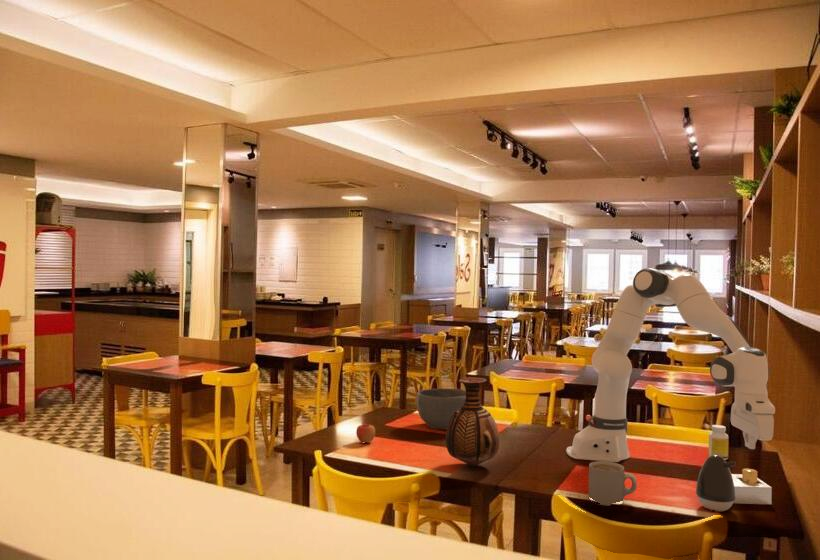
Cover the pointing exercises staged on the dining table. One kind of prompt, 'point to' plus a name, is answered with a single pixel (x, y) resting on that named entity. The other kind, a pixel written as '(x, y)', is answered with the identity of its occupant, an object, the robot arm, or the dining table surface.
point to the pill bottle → (718, 442)
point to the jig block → (751, 491)
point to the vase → (472, 428)
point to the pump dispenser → (716, 484)
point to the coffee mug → (609, 482)
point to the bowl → (439, 405)
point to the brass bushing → (749, 476)
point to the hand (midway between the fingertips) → (750, 447)
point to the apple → (365, 433)
